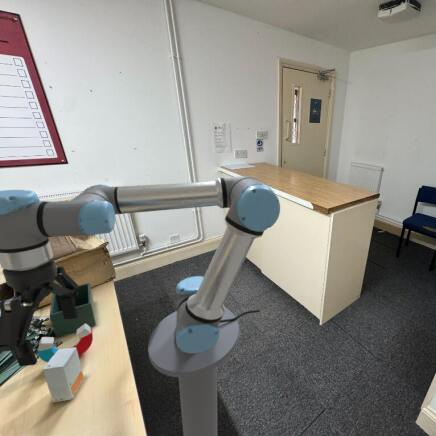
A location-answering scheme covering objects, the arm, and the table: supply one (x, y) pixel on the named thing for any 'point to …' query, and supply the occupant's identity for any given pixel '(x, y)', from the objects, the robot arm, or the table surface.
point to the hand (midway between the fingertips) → (52, 338)
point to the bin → (83, 309)
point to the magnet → (86, 337)
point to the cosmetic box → (63, 374)
